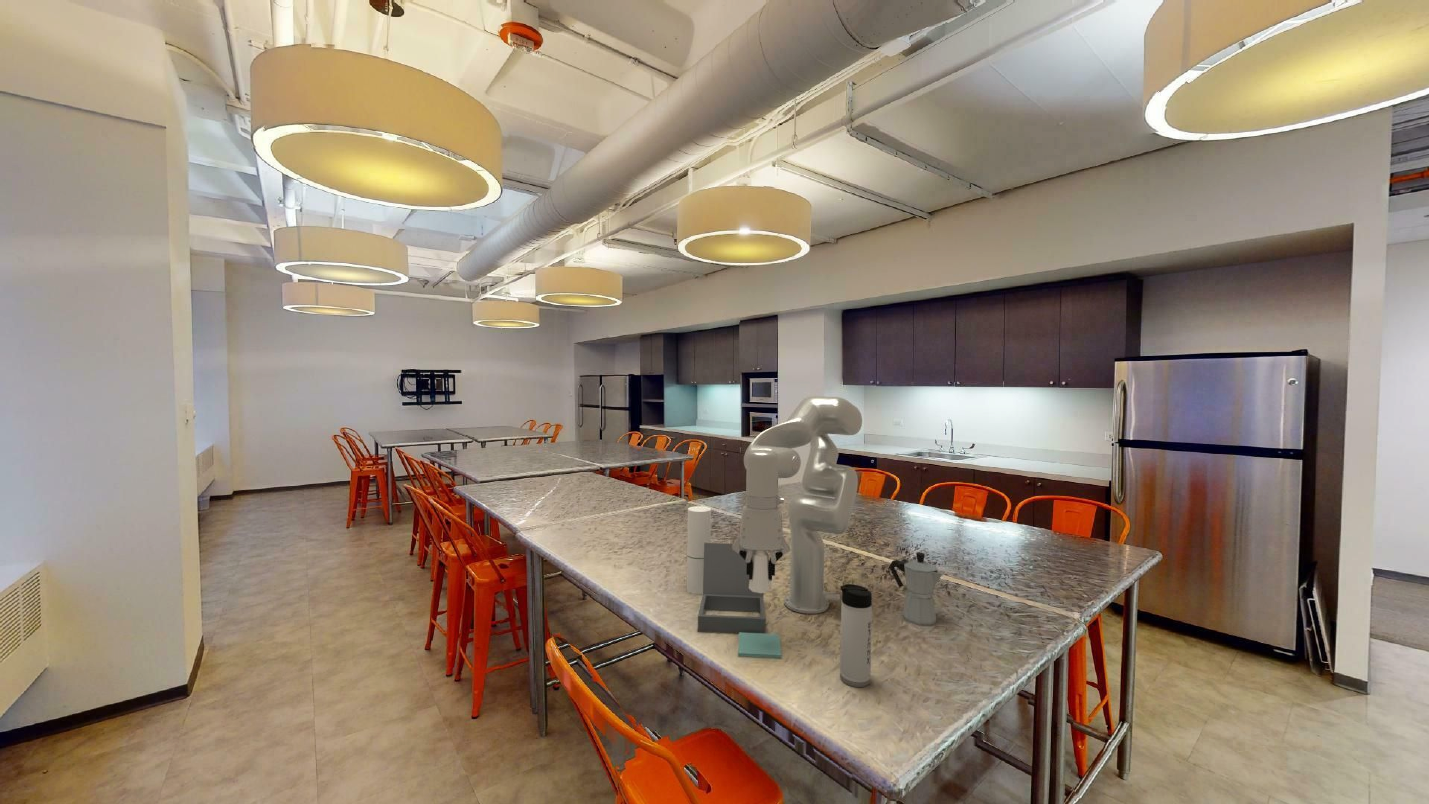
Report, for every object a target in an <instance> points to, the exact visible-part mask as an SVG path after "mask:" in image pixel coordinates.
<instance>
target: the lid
mask: <svg viewBox="0 0 1429 804" xmlns="http://www.w3.org/2000/svg"><path fill="white" fill-rule="evenodd" d="M733 544H734V543H729V542H727V543H726V542H711V543H704V571H703V594H714V595H738V596H763V597H764V593H757V592H752V591H751V590H750V589H749V581H750V580H749V575H746V571H747V562H746V561H745V560H744V559H743V558H742V557H741V555H740V554H739V553H737V552H735V551H734V550H733V549H732V545H733ZM739 547H741V546H740V545H739ZM744 550H745V549H744ZM745 551H746V552H747V550H745ZM754 553H755V550H753V552H752V556H751V558H752V557H753V554H754ZM703 594H702V595H703Z"/></svg>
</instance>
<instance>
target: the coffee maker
mask: <svg viewBox="0 0 1429 804" xmlns="http://www.w3.org/2000/svg"><path fill="white" fill-rule="evenodd" d="M915 555H916V560H908V559H907V558H906V559H905V558H902V559H901V560H899V559H894V560H892V561H891V563H890V565H888V568H889V570H890V572H891V573H892V576H893V577H894V579H895V581H896V583H897V586H898V588H899V589H901V588H902V587H903V586H904V584H903V582H902V580H901V578H900V576H899V573H898V572H897V570H896V569H898V570H900V571H901V572H903V573H904V576H905V584H906V590H907V592H906V594H905V599H904V604H903V607H902V608H903V609H902V612H901V613H902V614H901V616H902V617H903V619H904V620H905V621H906V622H907V623H911V624H914V625H918V626H934V624H935V623H936V622H937V615H936V609H935V601H934V596H933V595H932V594H934V591H935V586H936V585H937V583H938V582H939V580H941V577H942V576H945V573H943V572H942V571H941V570H938V569H937V566H936V565H934V564H932V563H929V562H927V561H925V556H926V553H924V552H921V551H919V552H915Z"/></svg>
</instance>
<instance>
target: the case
mask: <svg viewBox="0 0 1429 804" xmlns="http://www.w3.org/2000/svg"><path fill="white" fill-rule="evenodd" d="M706 611H725V612H747V613H748V612H750V613H759V616H745V615H744V616H743V615H741V616H740V615H722V614H721V615H718V614H706ZM765 611H766V610H765V600H764V595H763V596H738V595H714V594H702V597H701V601H700V604H699V610H698V616H697V632H698V633H699V632H700V633H717V634H738V635H739V632H742V633H763V634H766V614H765Z"/></svg>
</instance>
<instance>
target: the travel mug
mask: <svg viewBox="0 0 1429 804" xmlns="http://www.w3.org/2000/svg"><path fill="white" fill-rule="evenodd" d="M839 589H840V591H841V593H842V594H841V607H840V608H841V615H840V616H841V617H840V621H841V622H840V654H839V655H840V658H839V659H840V663H839V665H840V666H839V678H840V680H841V681H842V682H843V683H844V684H846V685H848V686H850V687H854V688H863V687H867V686H868V685H870V684H871V672H872V671H871V665H872V662H871V661H872V660H871V659H872V625H873V624H872V623H873V620H872V619H873V618H872V617H873V604H872V603H873V602H872V601H873V598H872V597H873V595H872V592H871V591H870V590H869V589H868V588H866V587H864V586H861V585H858V584H852V583H851V584H850V583H845V584H843V585H840V588H839Z"/></svg>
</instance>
